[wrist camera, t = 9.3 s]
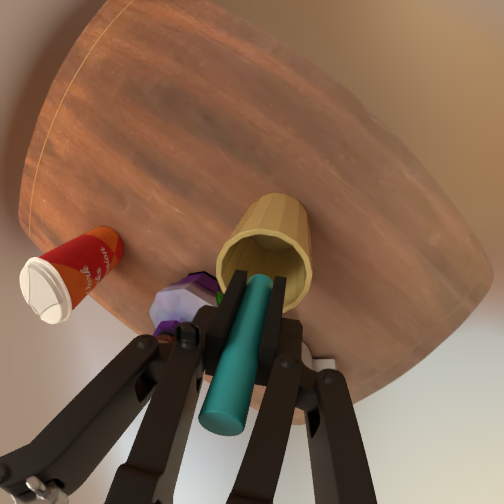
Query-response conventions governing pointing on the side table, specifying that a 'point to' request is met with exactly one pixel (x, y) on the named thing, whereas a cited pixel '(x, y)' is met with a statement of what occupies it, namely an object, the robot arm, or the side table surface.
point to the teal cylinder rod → (238, 363)
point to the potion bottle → (183, 303)
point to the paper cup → (69, 273)
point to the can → (271, 246)
